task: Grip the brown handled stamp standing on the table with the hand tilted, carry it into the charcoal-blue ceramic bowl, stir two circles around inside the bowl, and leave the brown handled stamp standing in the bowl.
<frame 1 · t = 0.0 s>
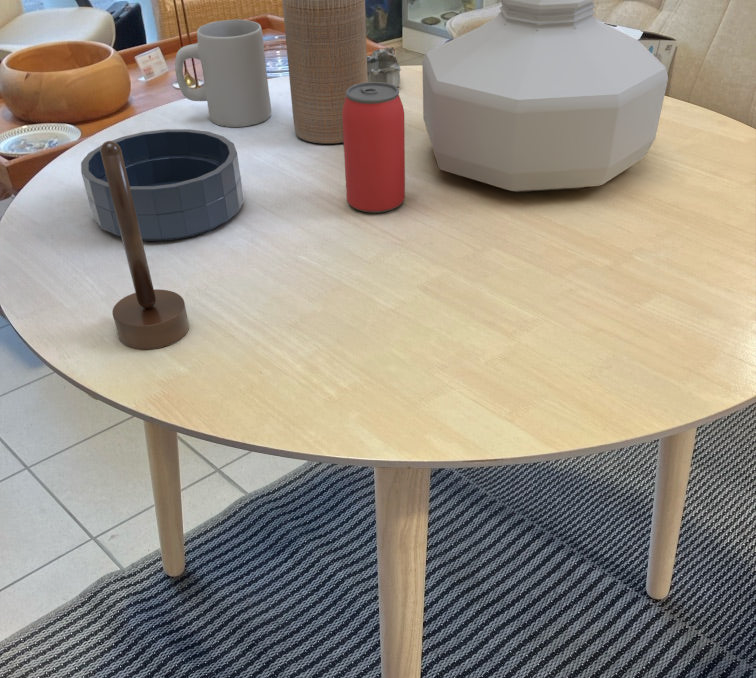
brown handled stamp: (154, 330, 78), on the table
mug: (228, 119, 118), on the table
pot: (532, 161, 104), on the table
vase: (332, 132, 113), on the table
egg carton: (364, 86, 126), on the table
beer can: (375, 204, 97), on the table
bowl: (170, 210, 97), on the table
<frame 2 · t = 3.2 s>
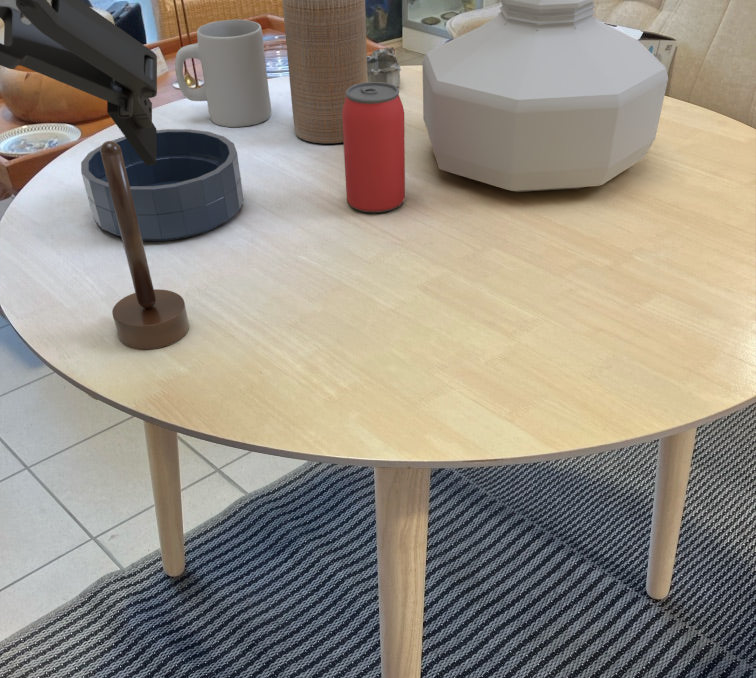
hand: (59, 156, 61), 18 cm above the table, tool tilted 40°, fingers open, 13 cm apart
nothing on the table moved.
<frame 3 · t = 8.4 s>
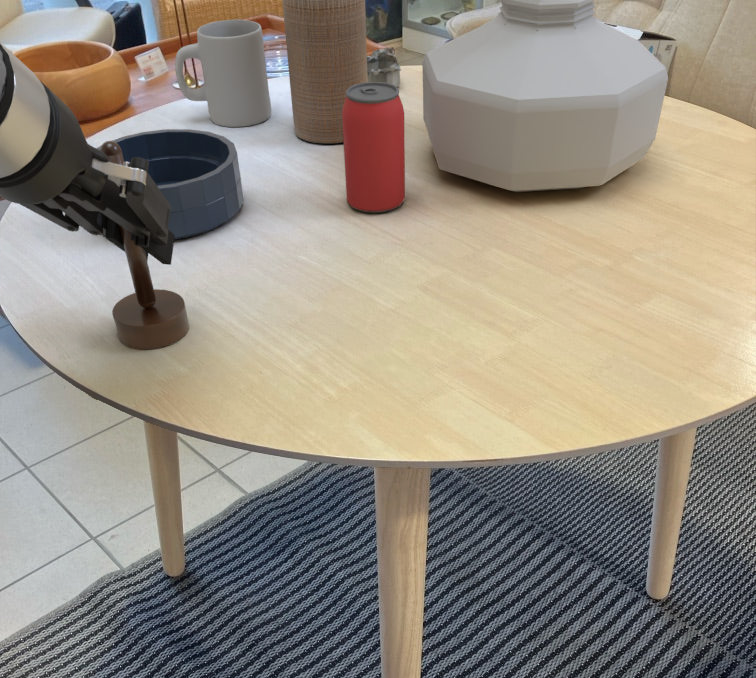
hand: (156, 248, 77), 6 cm above the table, tool tilted 45°, fingers closed on brown handled stamp, 2 cm apart
brown handled stamp: (154, 330, 78), on the table, touching gripper
everything else where it was.
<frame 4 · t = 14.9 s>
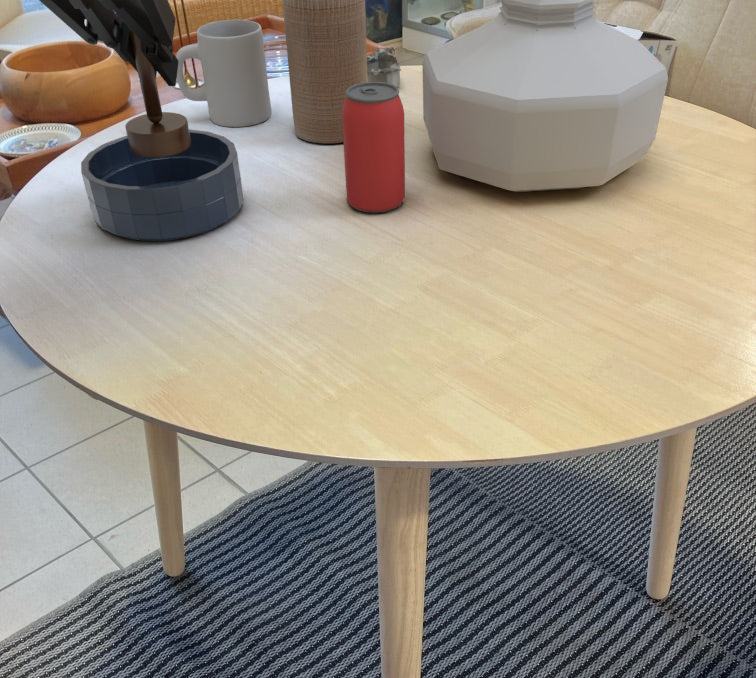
hand: (163, 73, 89), 14 cm above the table, tool tilted 45°, fingers closed on brown handled stamp, 2 cm apart
brown handled stamp: (161, 146, 91), point 8 cm above the table, touching gripper
everything else where it was.
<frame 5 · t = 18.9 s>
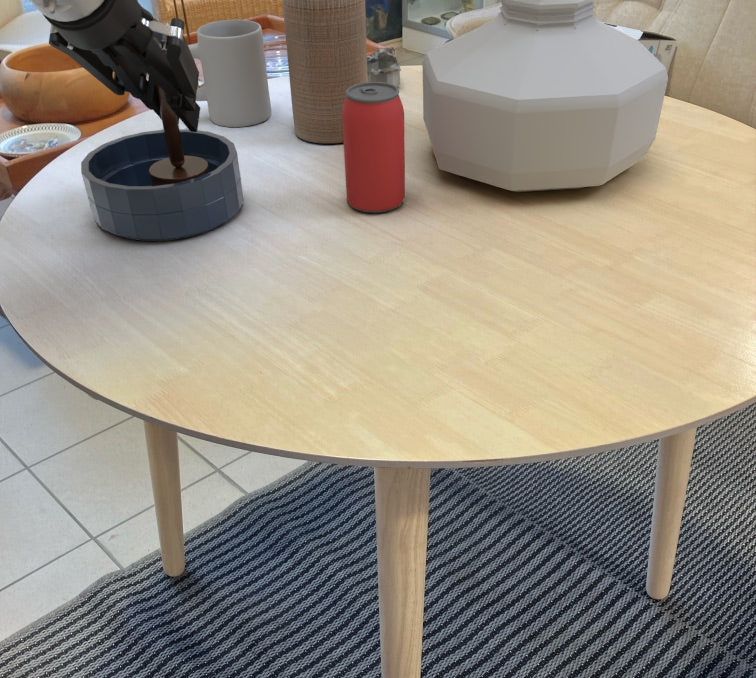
hand: (185, 119, 94), 9 cm above the table, tool tilted 45°, fingers closed on brown handled stamp, 2 cm apart
brown handled stamp: (182, 188, 95), point 3 cm above the table, touching gripper
everything else where it was.
when the fingers open (7 cm above the table, at t = 21.8 s): brown handled stamp stays where it is, resting on bowl.
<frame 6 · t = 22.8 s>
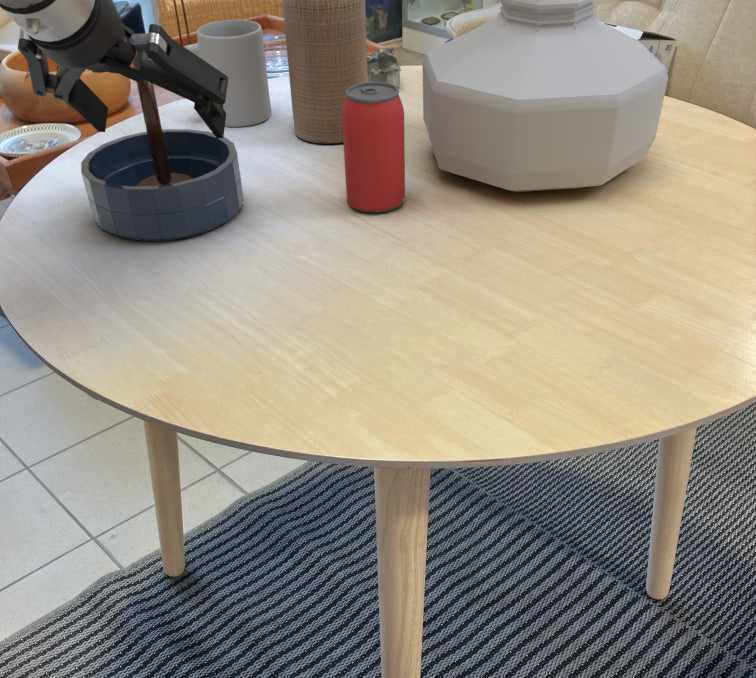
hand: (162, 122, 92), 9 cm above the table, tool tilted 45°, fingers open, 13 cm apart
brown handled stamp: (169, 205, 96), point 1 cm above the table, touching bowl
everything else where it was.
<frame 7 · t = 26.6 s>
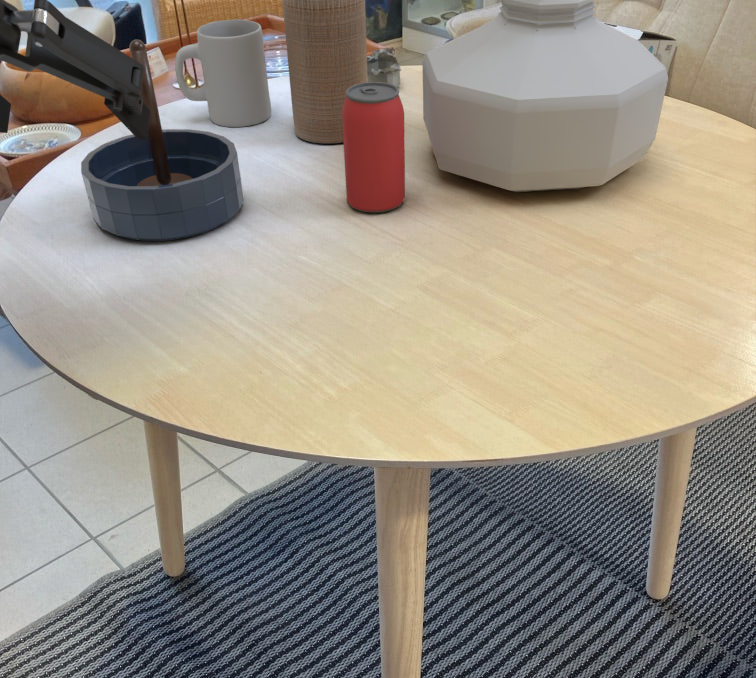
hand: (74, 121, 77), 14 cm above the table, tool tilted 45°, fingers open, 13 cm apart
nothing on the table moved.
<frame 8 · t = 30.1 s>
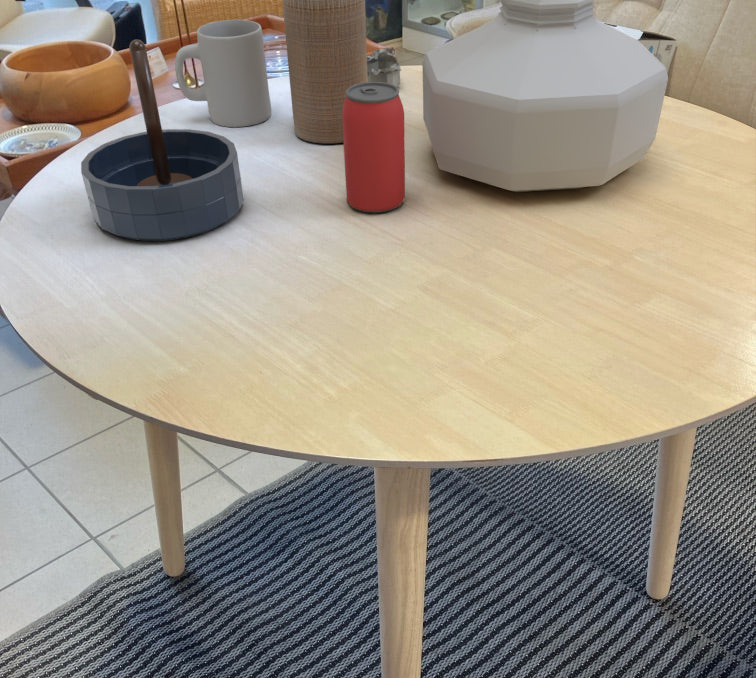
nothing on the table moved.
at the end: brown handled stamp inside the target area in the bowl (0.1 cm from its centre), point 0.6 cm above the bowl's base; brown handled stamp moved 25.4 cm from its start; the gripper is holding nothing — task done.
